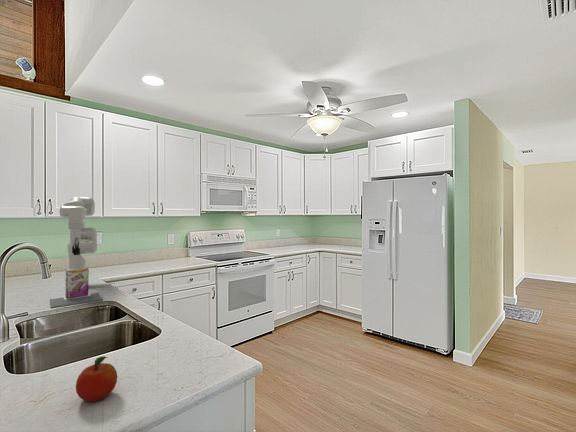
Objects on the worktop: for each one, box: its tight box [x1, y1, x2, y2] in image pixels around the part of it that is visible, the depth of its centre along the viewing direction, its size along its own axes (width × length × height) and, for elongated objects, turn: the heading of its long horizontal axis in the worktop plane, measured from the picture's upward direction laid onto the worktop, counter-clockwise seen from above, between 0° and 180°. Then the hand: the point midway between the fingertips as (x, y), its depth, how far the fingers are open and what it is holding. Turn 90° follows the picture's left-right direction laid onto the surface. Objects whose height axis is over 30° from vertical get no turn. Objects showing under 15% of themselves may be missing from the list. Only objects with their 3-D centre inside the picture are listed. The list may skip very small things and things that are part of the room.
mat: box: [49, 292, 103, 309], centre depth 178 cm, size 20×24×1 cm
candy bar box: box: [64, 267, 89, 298], centre depth 184 cm, size 11×5×16 cm, turn 133°
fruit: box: [75, 356, 118, 403], centre depth 82 cm, size 10×10×10 cm
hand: (75, 253), depth 191 cm, fingers open, 9 cm apart
